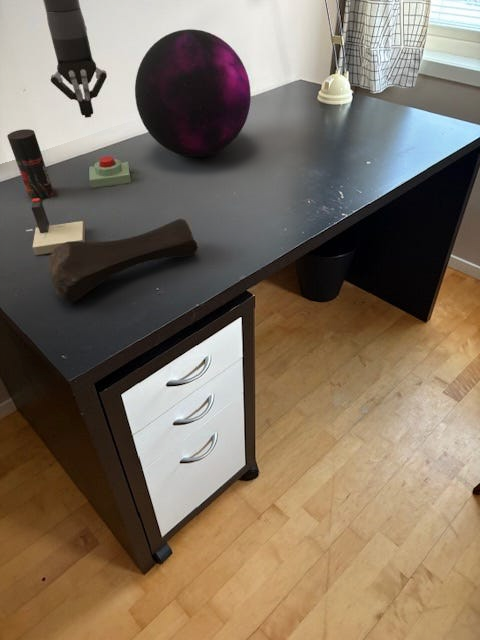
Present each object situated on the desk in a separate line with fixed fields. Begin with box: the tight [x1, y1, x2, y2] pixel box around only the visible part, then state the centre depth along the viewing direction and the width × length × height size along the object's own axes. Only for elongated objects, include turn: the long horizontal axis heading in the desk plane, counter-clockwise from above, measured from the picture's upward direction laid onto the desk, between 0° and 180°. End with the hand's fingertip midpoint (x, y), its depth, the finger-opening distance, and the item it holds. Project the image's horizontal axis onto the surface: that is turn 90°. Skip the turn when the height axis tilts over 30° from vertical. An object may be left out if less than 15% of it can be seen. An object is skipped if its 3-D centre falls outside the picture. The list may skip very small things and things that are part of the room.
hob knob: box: [30, 198, 50, 233], centre depth 100 cm, size 4×2×6 cm, turn 14°
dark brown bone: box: [48, 218, 199, 303], centre depth 90 cm, size 11×10×28 cm
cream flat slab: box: [25, 220, 86, 256], centre depth 102 cm, size 12×11×2 cm
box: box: [88, 158, 132, 189], centre depth 123 cm, size 10×8×4 cm
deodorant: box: [7, 128, 55, 201], centre depth 114 cm, size 6×6×15 cm
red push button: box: [98, 155, 115, 168], centre depth 121 cm, size 4×4×2 cm
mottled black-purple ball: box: [134, 28, 252, 158], centre depth 125 cm, size 30×30×30 cm
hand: (88, 116), depth 114 cm, fingers closed
